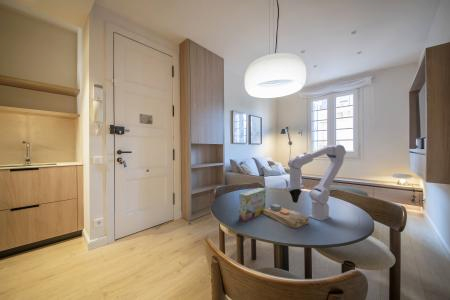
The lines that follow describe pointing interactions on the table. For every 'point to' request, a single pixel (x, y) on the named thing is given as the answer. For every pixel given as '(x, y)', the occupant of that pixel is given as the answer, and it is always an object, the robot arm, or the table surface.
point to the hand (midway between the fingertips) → (295, 202)
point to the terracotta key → (284, 212)
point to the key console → (286, 218)
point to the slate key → (276, 207)
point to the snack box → (251, 204)
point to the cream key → (295, 215)
